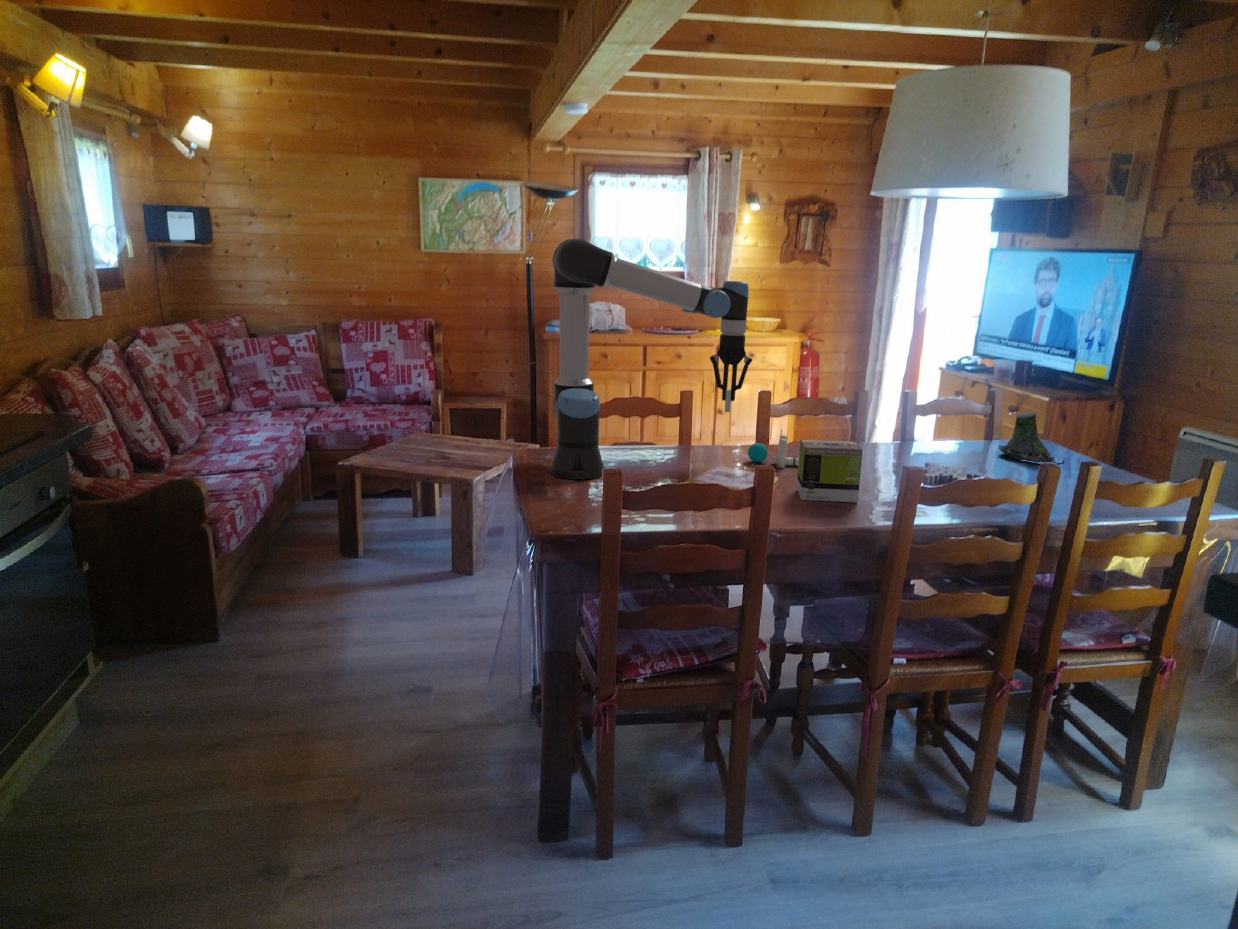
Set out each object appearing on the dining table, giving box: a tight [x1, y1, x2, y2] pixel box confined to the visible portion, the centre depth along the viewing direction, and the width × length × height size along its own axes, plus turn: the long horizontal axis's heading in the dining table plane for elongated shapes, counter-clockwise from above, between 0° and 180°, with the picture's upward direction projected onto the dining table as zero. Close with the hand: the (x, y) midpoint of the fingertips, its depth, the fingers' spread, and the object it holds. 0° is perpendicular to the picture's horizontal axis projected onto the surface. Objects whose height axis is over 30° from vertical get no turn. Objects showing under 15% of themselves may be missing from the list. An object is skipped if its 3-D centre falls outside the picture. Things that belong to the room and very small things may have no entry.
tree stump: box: [997, 411, 1056, 463], centre depth 265 cm, size 18×20×18 cm
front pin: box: [772, 455, 799, 467], centre depth 248 cm, size 2×2×8 cm
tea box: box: [796, 439, 863, 504], centre depth 216 cm, size 15×10×15 cm, turn 84°
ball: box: [747, 442, 768, 463], centre depth 250 cm, size 6×6×6 cm
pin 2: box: [776, 438, 788, 469], centre depth 245 cm, size 2×2×8 cm
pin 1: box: [779, 434, 789, 453], centre depth 250 cm, size 2×2×8 cm
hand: (727, 411), depth 248 cm, fingers closed
